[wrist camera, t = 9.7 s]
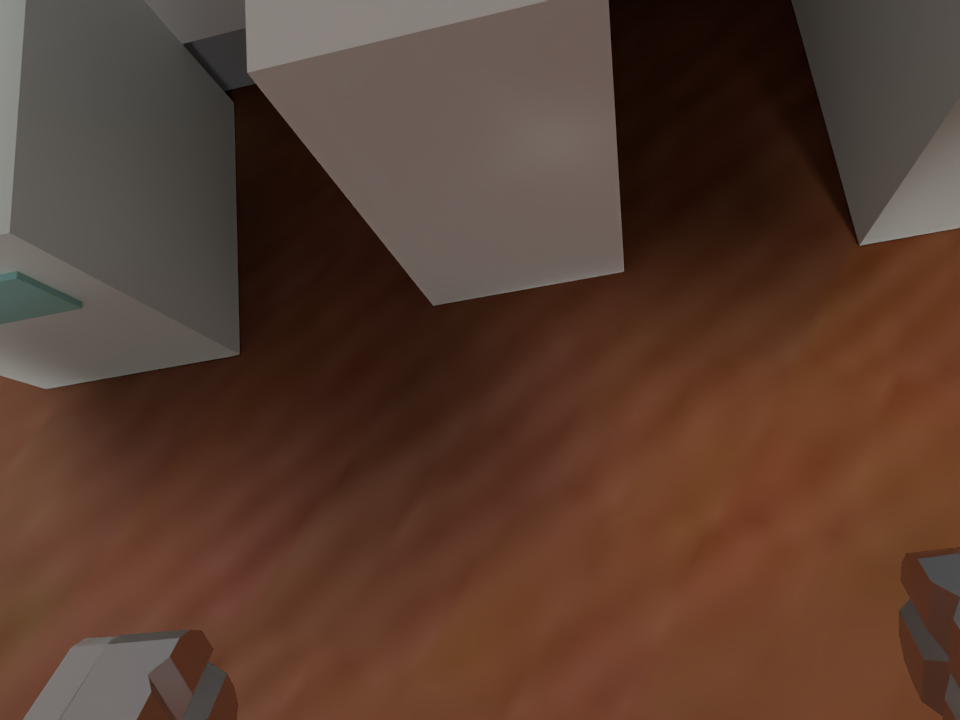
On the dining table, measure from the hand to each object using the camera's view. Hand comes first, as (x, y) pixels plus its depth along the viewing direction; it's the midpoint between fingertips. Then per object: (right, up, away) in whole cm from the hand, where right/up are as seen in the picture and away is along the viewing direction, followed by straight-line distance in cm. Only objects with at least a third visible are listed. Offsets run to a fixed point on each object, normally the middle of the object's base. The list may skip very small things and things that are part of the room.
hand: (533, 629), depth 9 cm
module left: (-11, +7, +13) cm, 18 cm away
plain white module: (0, +8, +12) cm, 14 cm away
